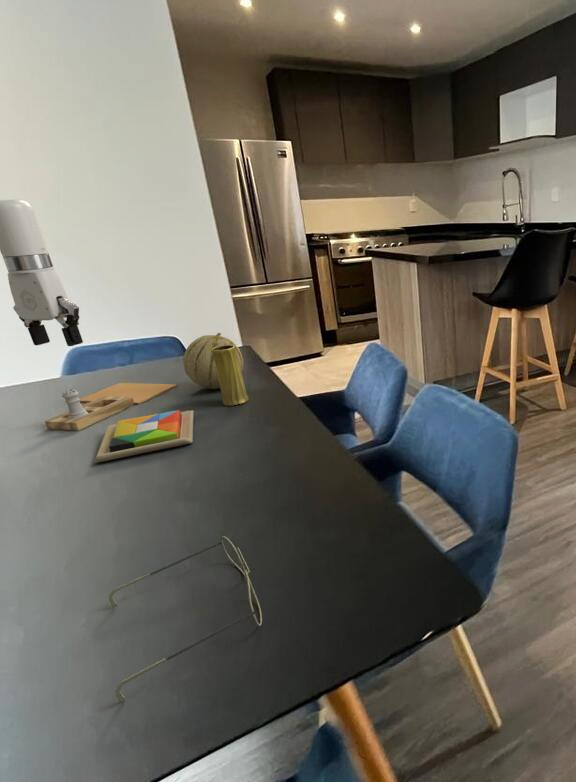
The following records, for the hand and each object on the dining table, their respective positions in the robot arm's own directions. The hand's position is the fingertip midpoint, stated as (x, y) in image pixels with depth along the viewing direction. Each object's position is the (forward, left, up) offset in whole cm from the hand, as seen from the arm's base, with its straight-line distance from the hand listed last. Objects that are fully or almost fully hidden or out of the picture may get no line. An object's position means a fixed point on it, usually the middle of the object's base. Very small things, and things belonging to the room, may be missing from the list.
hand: (58, 344), depth 109 cm
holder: (-4, +5, -20) cm, 21 cm away
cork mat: (-8, +20, -20) cm, 29 cm away
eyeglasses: (+67, -48, -20) cm, 85 cm away
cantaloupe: (+16, +27, -20) cm, 37 cm away
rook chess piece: (-4, +1, -20) cm, 20 cm away
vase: (+28, +17, -20) cm, 38 cm away
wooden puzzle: (+22, -5, -20) cm, 30 cm away
